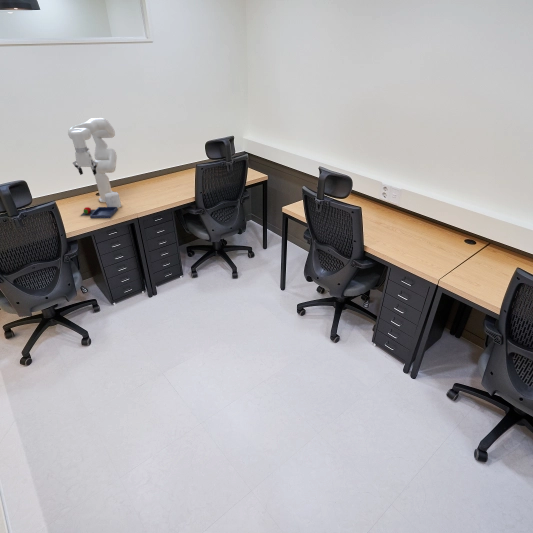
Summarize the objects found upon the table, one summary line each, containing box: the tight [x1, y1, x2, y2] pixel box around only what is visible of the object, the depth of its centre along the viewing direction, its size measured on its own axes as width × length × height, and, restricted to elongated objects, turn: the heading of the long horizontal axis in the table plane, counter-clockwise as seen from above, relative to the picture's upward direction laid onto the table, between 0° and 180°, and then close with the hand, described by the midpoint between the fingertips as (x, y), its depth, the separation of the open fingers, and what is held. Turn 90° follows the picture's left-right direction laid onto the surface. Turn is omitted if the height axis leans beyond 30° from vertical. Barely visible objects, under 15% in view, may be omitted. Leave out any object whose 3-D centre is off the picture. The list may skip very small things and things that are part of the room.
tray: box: [89, 206, 119, 219], centre depth 261 cm, size 15×14×3 cm
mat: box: [80, 209, 96, 217], centre depth 264 cm, size 11×7×1 cm, turn 179°
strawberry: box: [83, 206, 92, 214], centre depth 262 cm, size 8×4×4 cm, turn 179°
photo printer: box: [105, 191, 122, 209], centre depth 268 cm, size 10×4×12 cm, turn 123°
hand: (88, 174), depth 251 cm, fingers open, 9 cm apart
